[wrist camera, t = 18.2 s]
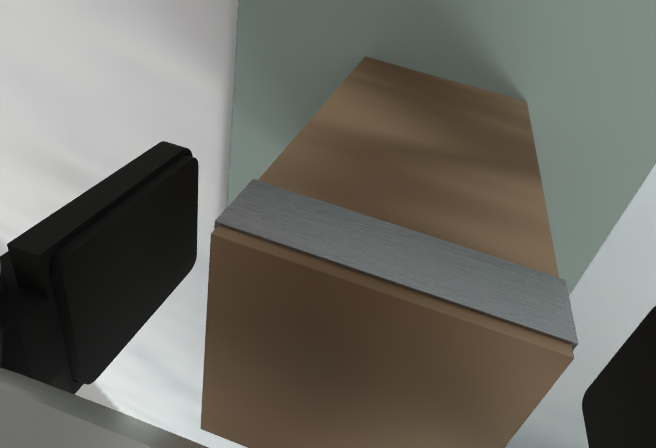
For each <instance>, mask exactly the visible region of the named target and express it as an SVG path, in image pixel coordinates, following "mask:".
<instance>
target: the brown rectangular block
mask: <svg viewBox="0 0 656 448" xmlns="http://www.w3.org/2000/svg"><path fill="white" fill-rule="evenodd" d="M577 345H578V341H577V336H576V331H575V326H574V321H573V316H572V311H571V306H570V301H569V296H568V291H567V286H566V281H565V279H562V278H559V273H558V268H557V263H556V257H555V252H554V246H553V241H552V235H551V230H550V224H549V219H548V214H547V208H546V203H545V197H544V192H543V186H542V181H541V175H540V170H539V165H538V159H537V154H536V148H535V143H534V137H533V132H532V126H531V121H530V116H529V110H528V105H527V102H526V101H522V100H519V99H515V98H512V97H508V96H505V95H501V94H497V93H494V92H490V91H487V90H483V89H480V88H476V87H472V86H469V85H465V84H462V83H458V82H455V81H451V80H448V79H444V78H440V77H437V76H433V75H430V74H426V73H423V72H419V71H415V70H412V69H408V68H405V67H401V66H398V65H394V64H391V63H387V62H383V61H380V60H376V59H373V58H369V57H366V56H365V57H364V58H363V59H362V61H361V62H360V63H359V64H358V65H357V66H356V68H355V69H354V70H353V71H352V72H351V73H350V74H349V76H348V77H347V78H346V79H345V80H344V81H343V83H342V84H341V85H340V86H339V87H338V88H337V89H336V91H335V92H334V93H333V94H332V95H331V96H330V98H329V99H328V100H327V101H326V102H325V103H324V104H323V106H322V107H321V108H320V109H319V110H318V111H317V112H316V114H315V115H314V116H313V117H312V118H311V119H310V121H309V122H308V123H307V124H306V125H305V126H304V127H303V129H302V130H301V131H300V132H299V133H298V134H297V136H296V137H295V138H294V139H293V140H292V141H291V142H290V144H289V145H288V146H287V147H286V148H285V149H284V150H283V152H282V153H281V154H280V155H279V156H278V157H277V159H276V160H275V161H274V162H273V163H272V164H271V165H270V167H269V168H268V169H267V170H266V171H265V172H264V174H263V175H262V176H261V177H260V178H259V179H258V180H256V179H252V180H251V181H250V182H249V184H248V185H247V186H246V187H245V188H244V189H243V190H242V191H241V193H240V194H239V195H238V196H237V197H236V198H235V199H234V200H233V202H232V203H231V204H230V205H229V206H228V207H227V208H226V209H225V210H224V212H223V213H222V214H221V215H220V216H219V217H218V218H217V219H216V221H215V230H214V231H213V232H212V233H211V243H210V262H209V281H208V300H207V319H206V337H205V356H204V375H203V394H202V412H201V429H203V430H205V431H208V432H210V433H213V434H215V435H218V436H220V437H223V438H225V439H228V440H230V441H233V442H235V443H238V444H240V445H243V446H245V447H248V448H505V446H506V445H507V444H508V442H509V441H510V440H511V438H512V437H513V436H514V435H515V433H516V432H517V431H518V429H519V428H520V427H521V426H522V424H523V423H524V422H525V420H526V419H527V418H528V417H529V415H530V414H531V413H532V411H533V410H534V409H535V408H536V406H537V405H538V404H539V402H540V401H541V400H542V399H543V397H544V396H545V395H546V393H547V392H548V391H549V390H550V388H551V387H552V386H553V384H554V383H555V382H556V381H557V379H558V378H559V377H560V375H561V374H562V373H563V372H564V370H565V369H566V368H567V366H568V365H569V364H570V363H571V361H572V360H573V359H574V355H573V350H574V348H575V347H576V346H577Z"/></svg>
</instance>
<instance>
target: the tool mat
mask: <svg viewBox="0 0 656 448" xmlns="http://www.w3.org/2000/svg"><path fill="white" fill-rule="evenodd" d="M365 56H366V57H369V58H373V59H376V60H380V61H383V62H387V63H391V64H394V65H398V66H401V67H405V68H408V69H412V70H415V71H419V72H423V73H426V74H430V75H433V76H437V77H440V78H444V79H448V80H451V81H455V82H458V83H462V84H465V85H469V86H472V87H476V88H480V89H483V90H487V91H490V92H494V93H497V94H501V95H505V96H508V97H512V98H515V99H519V100H522V101H526V102H527V105H528V110H529V116H530V121H531V126H532V132H533V137H534V143H535V148H536V154H537V159H538V165H539V170H540V175H541V181H542V186H543V192H544V197H545V203H546V208H547V214H548V219H549V224H550V230H551V235H552V241H553V246H554V252H555V257H556V263H557V268H558V273H559V278H562V279H565V281H566V286H567V291H568V296H569V294H570V293H571V291H572V290H573V288H574V287H575V285H576V284H577V282H578V281H579V279H580V278H581V276H582V275H583V273H584V272H585V270H586V269H587V267H588V266H589V264H590V262H591V261H592V259H593V258H594V256H595V255H596V253H597V252H598V250H599V249H600V247H601V246H602V244H603V243H604V241H605V240H606V238H607V237H608V235H609V234H610V232H611V230H612V229H613V227H614V226H615V224H616V223H617V221H618V220H619V218H620V217H621V215H622V214H623V212H624V211H625V209H626V208H627V206H628V205H629V203H630V202H631V200H632V199H633V197H634V195H635V194H636V192H637V191H638V189H639V188H640V186H641V185H642V183H643V182H644V180H645V179H646V177H647V176H648V174H649V173H650V171H651V170H652V168H653V167H654V165H655V163H656V0H239V6H238V24H237V41H236V59H235V76H234V93H233V111H232V128H231V145H230V163H229V180H228V197H227V207H228V206H229V205H230V204H231V203H232V202H233V200H234V199H235V198H236V197H237V196H238V195H239V194H240V193H241V191H242V190H243V189H244V188H245V187H246V186H247V185H248V184H249V182H250V181H251V180H252V179H256V180H258V179H259V178H260V177H261V176H262V175H263V174H264V172H265V171H266V170H267V169H268V168H269V167H270V165H271V164H272V163H273V162H274V161H275V160H276V159H277V157H278V156H279V155H280V154H281V153H282V152H283V150H284V149H285V148H286V147H287V146H288V145H289V144H290V142H291V141H292V140H293V139H294V138H295V137H296V136H297V134H298V133H299V132H300V131H301V130H302V129H303V127H304V126H305V125H306V124H307V123H308V122H309V121H310V119H311V118H312V117H313V116H314V115H315V114H316V112H317V111H318V110H319V109H320V108H321V107H322V106H323V104H324V103H325V102H326V101H327V100H328V99H329V98H330V96H331V95H332V94H333V93H334V92H335V91H336V89H337V88H338V87H339V86H340V85H341V84H342V83H343V81H344V80H345V79H346V78H347V77H348V76H349V74H350V73H351V72H352V71H353V70H354V69H355V68H356V66H357V65H358V64H359V63H360V62H361V61H362V59H363V58H364V57H365Z"/></svg>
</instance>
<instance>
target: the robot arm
mask: <svg viewBox="0 0 656 448" xmlns="http://www.w3.org/2000/svg"><path fill="white" fill-rule="evenodd" d="M197 215H198V161H197V159H196V158H194V157H192V153H191V151H190V150H189V149H188V148H184V147H181V146H178V145H175V144H172V143H168V142H164V141H163V142H160V143H158V144H157V145H155V146H154V147H152V148H151V149H149V150H148V151H146V152H145V153H143V154H142V155H140V156H139V157H137V158H136V159H134V160H133V161H131V162H130V163H128V164H127V165H125V166H124V167H122V168H121V169H119V170H118V171H116V172H115V173H113V174H112V175H110V176H109V177H107V178H106V179H104V180H103V181H101V182H100V183H98V184H97V185H95V186H94V187H92V188H91V189H89V190H88V191H86V192H85V193H83V194H82V195H80V196H79V197H77V198H76V199H74V200H73V201H71V202H70V203H68V204H67V205H65V206H64V207H62V208H61V209H59V210H58V211H56V212H55V213H53V214H52V215H50V216H49V217H47V218H45V219H44V220H42V221H41V222H39V223H38V224H36V225H35V226H33V227H32V228H30V229H29V230H27V231H26V232H24V233H23V234H21V235H20V236H18V237H17V238H15V239H14V240H12V241H11V242H9V243H8V244H7V247H8V250H9V251H8V252H6V253H5V254H3V255H2V256H0V448H208V447H206V446H203V445H201V444H198V443H196V442H193V441H191V440H188V439H186V438H183V437H181V436H178V435H176V434H173V433H171V432H168V431H166V430H163V429H161V428H158V427H156V426H153V425H151V424H148V423H146V422H143V421H141V420H138V419H136V418H133V417H131V416H128V415H126V414H123V413H121V412H118V411H116V410H113V409H110V408H108V407H105V406H103V405H100V404H97V403H95V402H92V401H90V400H87V399H84V398H82V397H79V396H77V395H74V394H75V393H76V392H77V391H78V390H79V389H80V387H81V386H82V385H83V384H91V383H93V382H94V381H95V380H96V379H97V378H98V377H99V376H100V375H101V373H102V372H103V371H104V370H105V369H106V368H107V367H108V365H109V364H110V363H111V362H112V361H113V360H114V358H115V357H116V356H117V355H118V354H119V353H120V352H121V350H122V349H123V348H124V347H125V346H126V345H127V343H128V342H129V341H130V340H131V339H132V338H133V337H134V335H135V334H136V333H137V332H138V331H139V330H140V329H141V327H142V326H143V325H144V324H145V323H146V322H147V320H148V319H149V318H150V317H151V316H152V315H153V314H154V312H155V311H156V310H157V309H158V308H159V307H160V306H161V304H162V303H163V302H164V301H165V300H166V299H167V297H168V296H169V295H170V294H171V293H172V292H173V291H174V289H175V288H176V287H177V286H178V285H179V284H180V282H181V281H182V280H183V279H184V278H185V277H186V276H187V274H188V273H189V272H190V271H191V269H192V268H193V266H194V264H195V261H196V256H197ZM582 410H583V416H584V422H585V427H586V433H587V439H588V444H589V448H656V306H655V307H654V308H653V309H652V310H651V311H650V312H649V313H648V315H647V316H646V317H645V318H644V320H643V321H642V322H641V323H640V325H639V326H638V327H637V328H636V330H635V331H634V332H633V333H632V334H631V336H630V337H629V338H628V339H627V341H626V342H625V343H624V344H623V346H622V347H621V348H620V349H619V351H618V352H617V353H616V354H615V356H614V357H613V358H612V359H611V360H610V362H609V363H608V364H607V365H606V367H605V368H604V369H603V370H602V372H601V373H600V374H599V375H598V377H597V378H596V379H595V380H594V382H593V383H592V384H591V385H590V386H589V388H588V389H587V390H586V392H585V394H584V397H583V401H582Z"/></svg>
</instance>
